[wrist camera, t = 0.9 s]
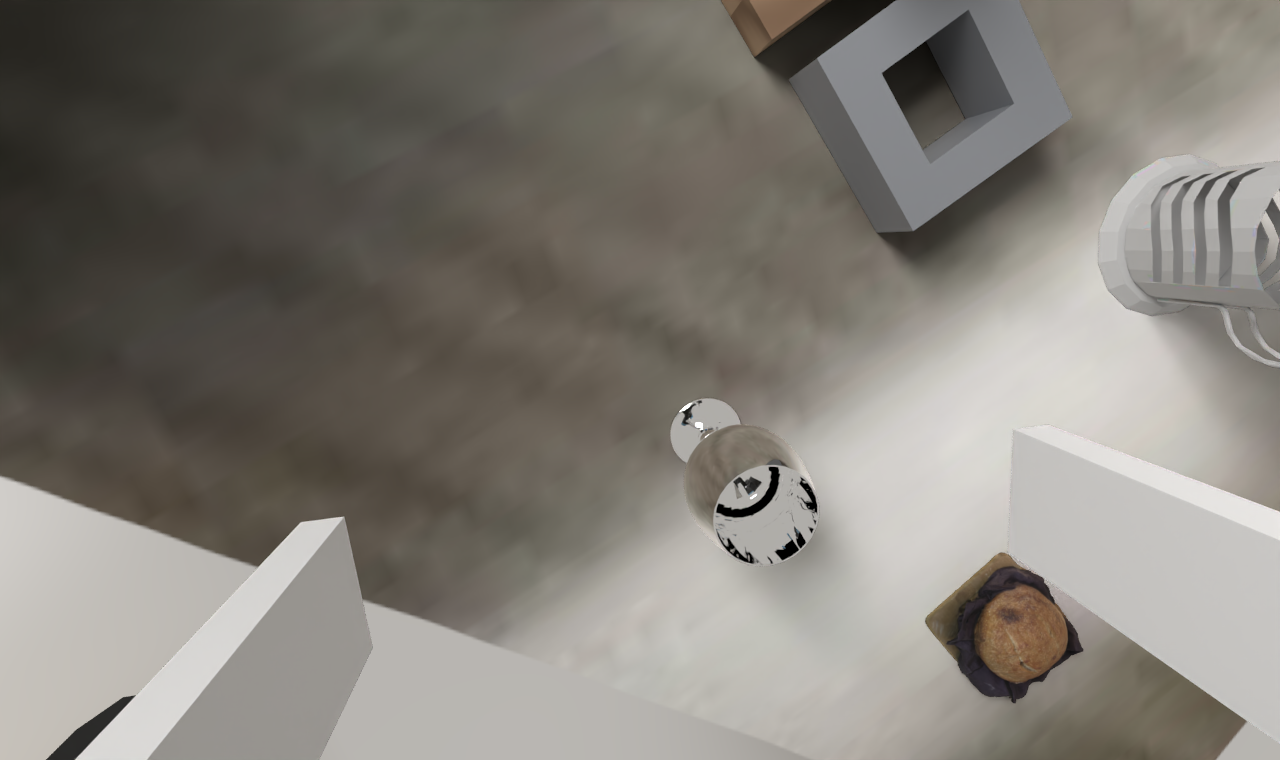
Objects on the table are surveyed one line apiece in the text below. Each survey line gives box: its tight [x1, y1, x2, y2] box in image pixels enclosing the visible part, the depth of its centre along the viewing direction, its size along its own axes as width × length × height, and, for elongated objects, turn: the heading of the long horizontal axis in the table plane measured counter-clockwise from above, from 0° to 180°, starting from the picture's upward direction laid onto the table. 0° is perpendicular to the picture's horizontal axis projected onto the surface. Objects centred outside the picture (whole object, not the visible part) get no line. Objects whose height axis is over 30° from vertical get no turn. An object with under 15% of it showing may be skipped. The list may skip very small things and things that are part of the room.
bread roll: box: [925, 553, 1083, 703], centre depth 42 cm, size 11×8×4 cm
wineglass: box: [670, 398, 819, 566], centre depth 32 cm, size 6×6×12 cm
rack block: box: [789, 0, 1072, 233], centre depth 33 cm, size 10×10×4 cm
